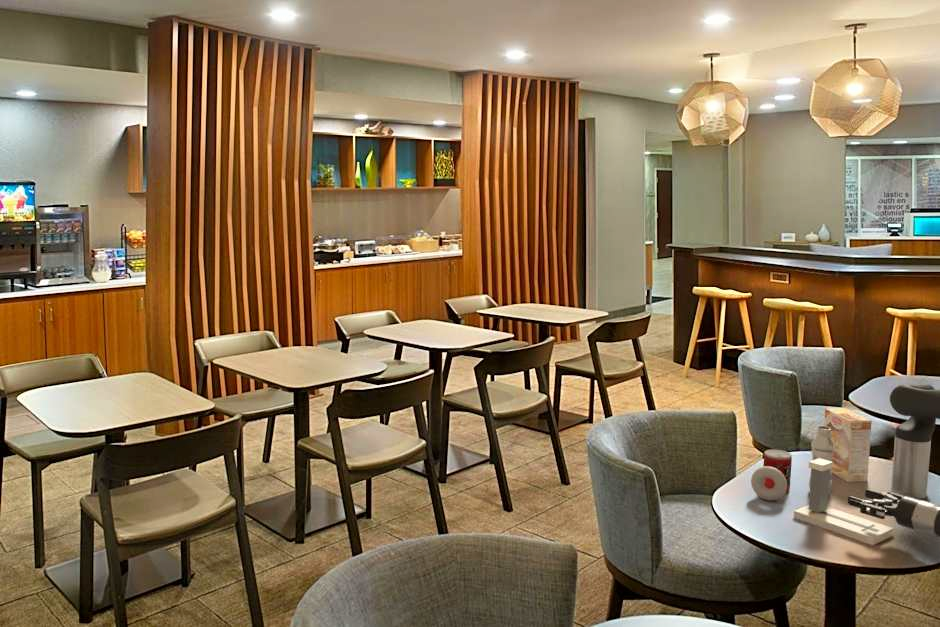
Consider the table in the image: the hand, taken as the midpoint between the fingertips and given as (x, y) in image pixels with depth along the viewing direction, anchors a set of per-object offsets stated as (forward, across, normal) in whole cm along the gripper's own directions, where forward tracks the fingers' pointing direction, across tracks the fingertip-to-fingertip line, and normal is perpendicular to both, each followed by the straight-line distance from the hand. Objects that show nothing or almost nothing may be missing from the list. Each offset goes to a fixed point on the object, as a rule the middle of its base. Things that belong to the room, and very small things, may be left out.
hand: (857, 496), depth 212 cm
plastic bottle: (+21, -18, +10) cm, 29 cm away
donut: (+27, -1, +10) cm, 28 cm away
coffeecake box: (+26, -40, +10) cm, 49 cm away
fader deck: (+4, 0, +10) cm, 10 cm away
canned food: (+31, -11, +10) cm, 34 cm away
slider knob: (+11, 0, +8) cm, 13 cm away
